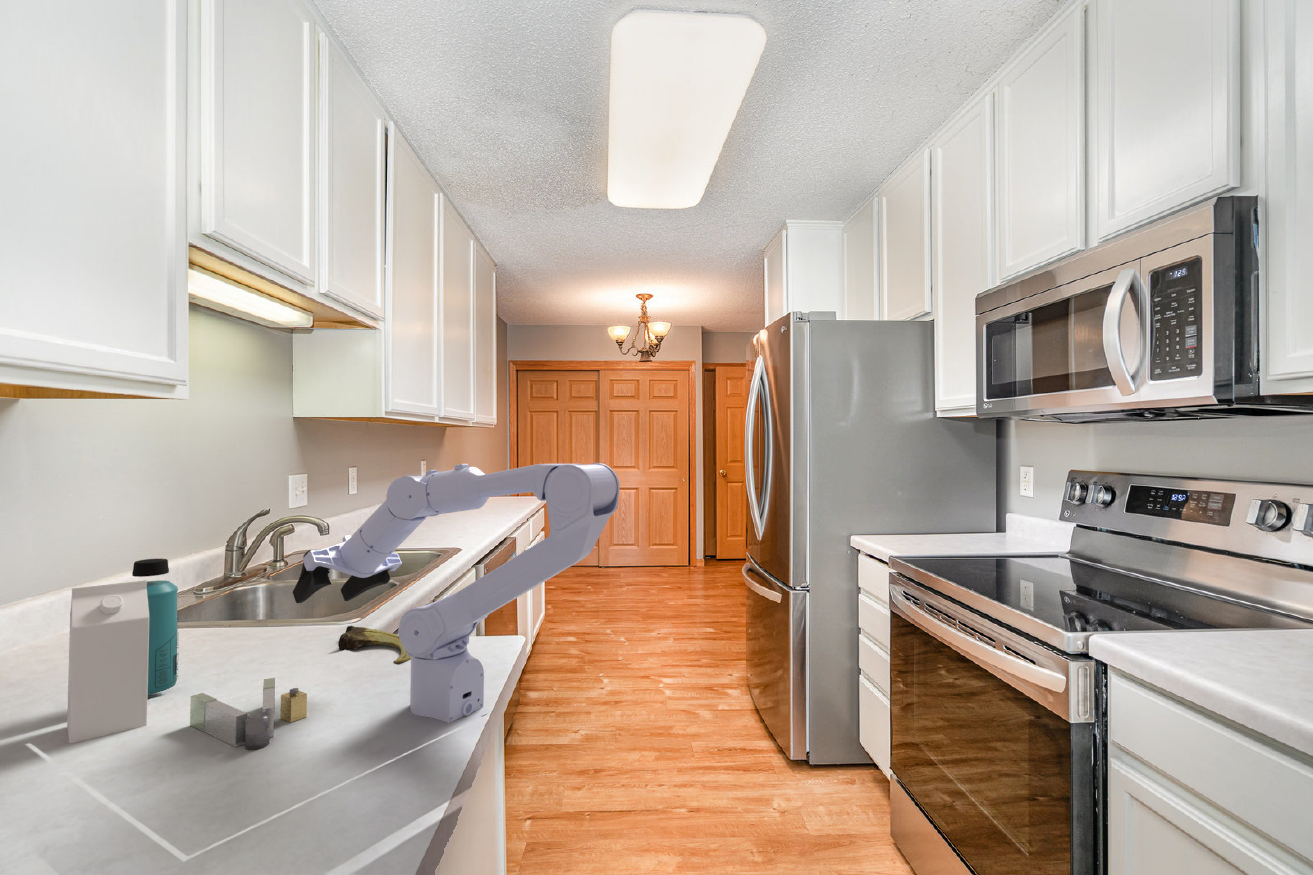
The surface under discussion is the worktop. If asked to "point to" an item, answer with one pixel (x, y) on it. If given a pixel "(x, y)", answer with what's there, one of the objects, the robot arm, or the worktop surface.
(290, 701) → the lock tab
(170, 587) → the beverage bottle
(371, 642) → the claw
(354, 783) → the worktop surface
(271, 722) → the bar
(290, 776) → the worktop surface
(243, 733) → the tongs fixed
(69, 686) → the milk carton
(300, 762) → the worktop surface
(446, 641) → the robot arm
